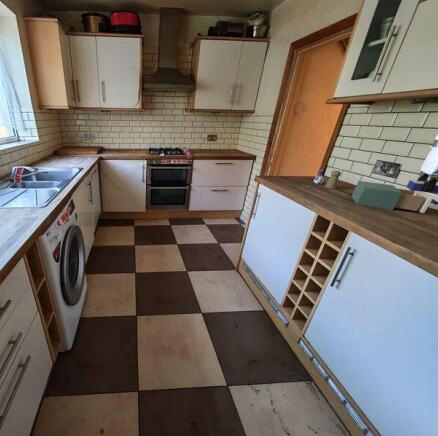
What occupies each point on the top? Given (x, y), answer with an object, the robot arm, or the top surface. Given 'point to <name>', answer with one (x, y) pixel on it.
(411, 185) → the notebook
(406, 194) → the drawer
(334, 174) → the beige upright figurine
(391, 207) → the green faceted block
